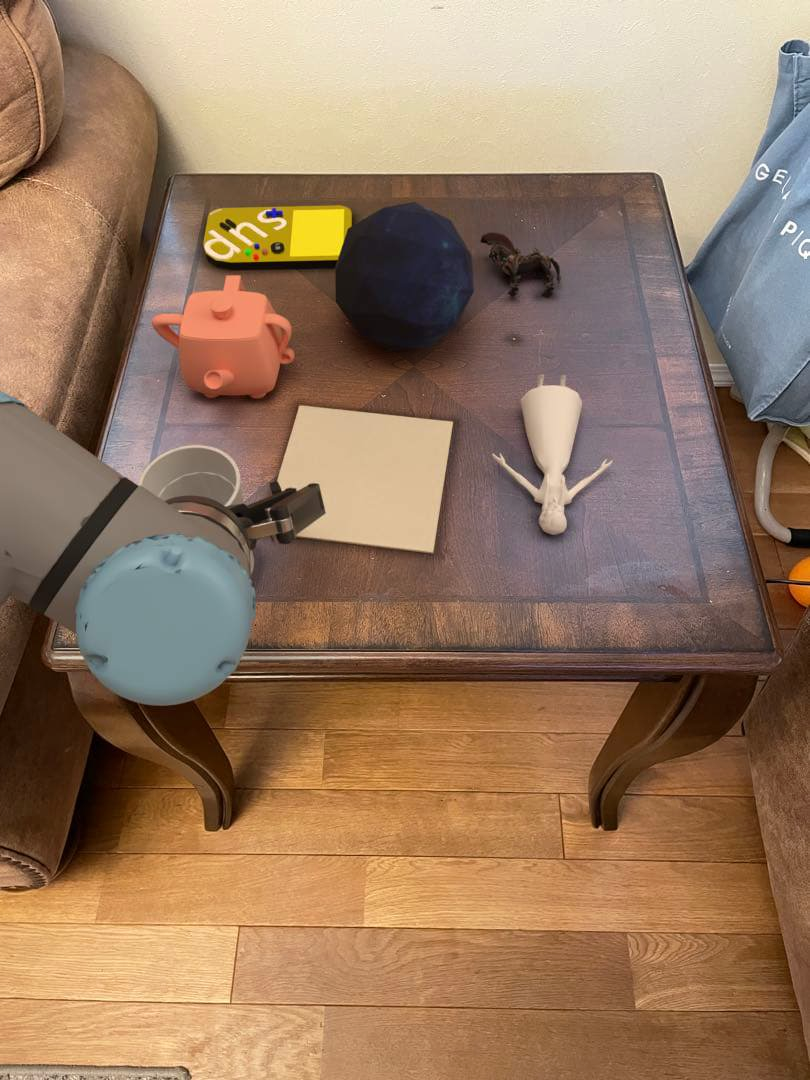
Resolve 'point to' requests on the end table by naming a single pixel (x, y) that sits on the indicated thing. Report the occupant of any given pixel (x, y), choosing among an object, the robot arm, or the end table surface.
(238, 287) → the teapot
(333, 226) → the game console
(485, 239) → the horse figurine
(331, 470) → the napkin
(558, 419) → the woman figurine
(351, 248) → the decorative orb
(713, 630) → the end table surface
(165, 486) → the cup
